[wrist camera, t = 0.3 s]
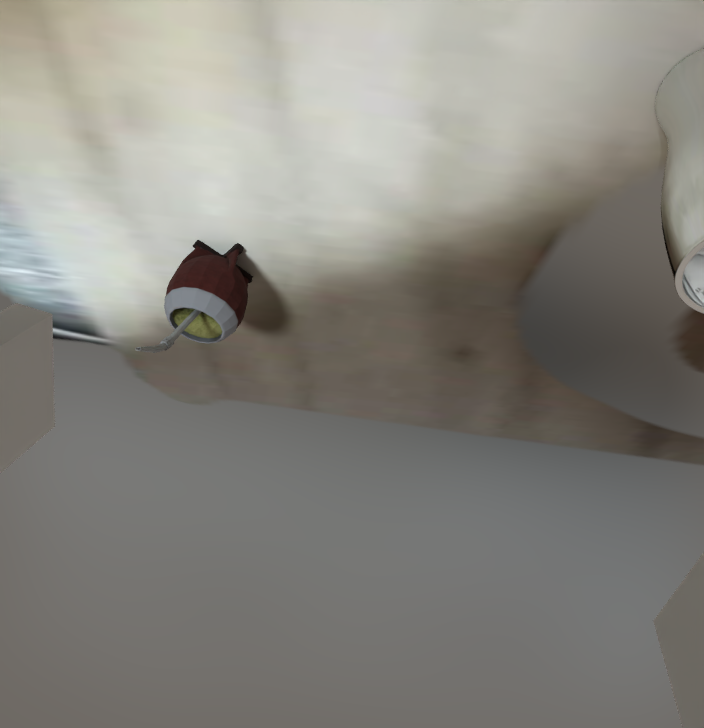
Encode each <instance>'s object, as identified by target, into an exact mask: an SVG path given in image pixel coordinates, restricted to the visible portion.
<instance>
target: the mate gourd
mask: <svg viewBox="0 0 704 728" xmlns="http://www.w3.org/2000/svg"><path fill="white" fill-rule="evenodd" d="M193 247H194V248H195V250H194V251H193V252H191V253H190V254H189V255H188V256H187V257H186V258H185V259H184V260H183V261H182V263H181V264H180V266H179V268H178V269H177V271H176V272H175V274H174V276H173V277H172V279H171V280H170V282H169V285H168V287H167V293H166V296H165V305H164V308H165V313H166V316H167V319H168V321H169V323H170V324H171V326H172V327H173V328H174V329H175V330H174V331H173V333H172V334H171V335H170V336H168V337H166V338H165V339H163V340H162V341H161V342H160V344H159V345H156V346H147V347H136V348H135V350H137V351H144V352H153V353H155V352H160V351H163V350H167V349H169V348H170V347H171V346H172V345H173V344H174V341H175V340H176V339H177V338H178V336H179V335H180V334H181V335H183V336H185V337H186V338H188V339H191V340H194V341H197V342H201V343H215V342H219V341H221V340H223V339H225V338H226V337H228V336H229V335H231V334H232V333H233V332H235V331H236V328H237V327H238V326H239V325H240V323H241V321H242V319H243V317H244V313H245V309H246V305H247V299H248V292H247V286H248V283H250V282H252V278H253V276H251V275H250V274H249V273H247V272H246V271H244V270H243V269H241V268H240V267H238V266H237V265H236V261H237V257H238V255H240V254H241V253H242V251H243V249H244V247H243V246H242V245H240V244H238V243H237V244H236V245H234V246H233V247H232V248H231V249H230V250H229V251H228V252H227V253H225V254H224V255H221V254H219V253H218V252H216V251H215V250H213V249H212V248H210V247H209V246H207V245H206V244H204V243H203V242H201V241H199V240H197V241H196V242H195V244H194V245H193Z"/></svg>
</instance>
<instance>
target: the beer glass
mask: <svg viewBox="0 0 704 728" xmlns="http://www.w3.org/2000/svg"><path fill="white" fill-rule="evenodd" d="M655 113H656V117H657V120H658V122H659V124H660V126H661V128H662V130H663V131H664V133H665V135H666V138H667V141H668V142H667V143H668V150H667V158H666V165H665V171H664V178H663V185H662V198H661V217H662V229H663V235H664V240H665V246H666V250H667V254H668V258H669V262H670V266H671V269H672V273H673V276H674V280H675V288H676V291H677V293H678V295H679V297H680V298H681V299H682V301H683V302H684V303H685V304H686V305H688V306H689V307H691V308H692V309H694V310H696V311H698V312H700V313H703V314H704V48H703V49H701V50H698V51H696V52H694V53H692V54H691V55H689V56H687V57H686V58H684V59H683V60H682V61H680V62H679V63H678V64H677V65H676V66H675V67H674V68H673V69H672V70H671V71H670V72H669V73H668V74H667V75H666V77H665V78H664V80H663V81H662V83H661V85H660V87H659V89H658V92H657V95H656V100H655Z"/></svg>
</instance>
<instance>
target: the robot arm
mask: <svg viewBox="0 0 704 728" xmlns="http://www.w3.org/2000/svg"><path fill="white" fill-rule="evenodd" d="M53 427H55V409H54V370H53V329H52V314H50V313H47V312H44V311H40V310H37V309H34V308H31V307H27V306H24V305H21V304H18V303H15V304H13V305H12V306H10V307H8V308H6V309H4V310H2V311H1V312H0V473H2V472H3V471H4V470H5V469H6V468H7V467H8V466H10V465H11V464H12V463H13V462H14V461H15V460H16V459H18V458H19V457H20V456H21V455H22V454H23V453H25V452H26V451H27V450H28V449H29V448H30V447H32V446H33V445H34V444H35V443H36V442H37V441H38V440H40V439H41V438H42V437H43V436H44V435H45V434H46V433H48V432H49V431H50V430H51V429H52V428H53ZM654 625H655V628H656V632H657V636H658V640H659V643H660V647H661V651H662V654H663V658H664V662H665V665H666V669H667V672H668V676H669V680H670V683H671V687H672V691H673V694H674V698H675V702H676V706H677V709H678V713H679V716H680V720H681V724H682V728H704V553H703V554H702V555H701V557H700V558H699V560H698V561H697V562H696V564H695V565H694V566H693V568H692V569H691V570H690V572H689V573H688V574H687V576H686V577H685V579H684V580H683V581H682V583H681V584H680V585H679V587H678V588H677V590H676V591H675V592H674V594H673V595H672V596H671V598H670V599H669V600H668V602H667V603H666V604H665V606H664V607H663V609H662V610H661V611H660V613H659V614H658V615H657V617H656V618H655V619H654Z"/></svg>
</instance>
